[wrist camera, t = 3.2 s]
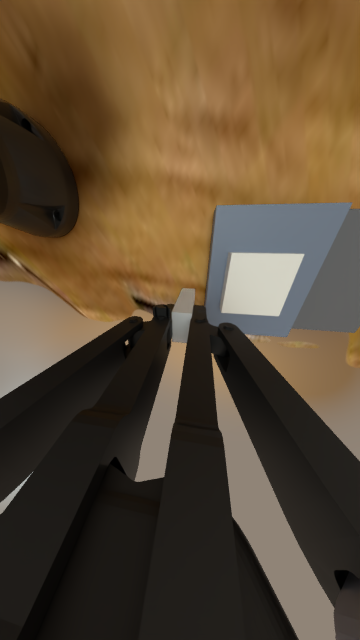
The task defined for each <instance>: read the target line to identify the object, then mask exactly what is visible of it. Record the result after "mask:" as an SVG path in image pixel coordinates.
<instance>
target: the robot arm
mask: <svg viewBox="0 0 360 640" xmlns="http://www.w3.org/2000/svg"><path fill="white" fill-rule="evenodd" d="M78 206H79V203H78V193H77V187H76V183H75V180H74V176H73V174H72V171H71V168H70V166H69V164H68V162H67V160H66V158H65V156H64V154H63V152H62V151H61V149H60V148H59V146H58V145H57V143H56V142H55V141H54V139H53V138H52V137H51V136H50V134H49V133H48V132H47V131H46V130H45V129H44V128H43V127H42V126H41V125H40V124H38V123H37V122H36V121H35V120H33V119H32V118H31V117H29V116H28V115H27V114H25V113H24V112H23V111H21V110H20V109H19V108H17V107H15V106H14V105H12V104H10V103H9V102H7V101H5V100H2V99H0V223H2V224H5V225H8V226H11V227H13V228H16V229H19V230H21V231H24V232H27V233H30V234H33V235H36V236H42V237H61V236H63V235H65V234H67V233H68V232H69V231H70V230H71V229H72V228H73V226H74V225H75V222H76V220H77V216H78ZM194 300H195V289H188V288H182V290H181V292H180V294H179V297H178V299H177V301H176V303H175V304H167V305H164V304H161V305H156V306H154V307H153V316H154V317H153V319H152V320H151V321H147V322H143V319H142V318H141V317H137V316H132V317H129V318H127V319H125V320H124V321H122V322H121V323H119V324H117V325H116V326H114V327H113V328H111V329H110V330H108V331H106V332H105V333H103V334H102V335H100V336H98V337H97V338H96V339H94V340H92V341H91V342H89V343H87V344H86V345H84V346H83V347H81V348H79V349H78V350H76V351H75V352H73V353H71V354H70V355H68V356H67V357H65V358H64V359H62V360H60V361H59V362H57V363H56V364H54V365H52V366H51V367H49V368H48V369H46V370H45V371H43V372H42V373H40V374H38V375H37V376H35V377H33V378H32V379H30V380H29V381H27V382H26V383H24V384H22V385H21V386H19V387H18V388H16V389H15V390H13V391H11V392H10V393H8V394H7V395H5V396H3V397H2V398H0V502H1V501H3V500H4V499H5V498H6V497H7V496H8V495H9V494H10V493H11V492H12V491H14V490H15V489H16V488H17V487H18V486H19V485H20V484H21V483H22V482H23V481H24V480H25V479H26V478H27V477H28V476H29V475H30V474H31V473H32V472H33V473H32V474H31V475H30V477H29V478H28V479H27V481H26V482H25V484H24V485H23V486H22V488H21V489H20V490H19V492H18V493H17V494H16V496H15V497H14V499H13V500H12V501H11V502H10V504H9V505H8V506H7V508H6V509H5V511H4V512H3V513H2V514H0V640H299V639H298V637H297V635H296V633H295V631H294V629H293V627H292V625H291V623H290V622H289V620H288V618H287V616H286V614H285V612H284V610H283V608H282V606H281V604H280V602H279V600H278V598H277V596H276V594H275V592H274V590H273V588H272V586H271V584H270V582H269V580H268V578H267V576H266V574H265V572H264V571H263V568H262V566H261V565H260V563H259V561H258V559H257V557H256V555H255V553H254V551H253V549H252V547H251V545H250V544H249V541H248V540H247V538H246V536H245V535H244V533H243V532H242V530H241V528H240V527H239V525H238V524H237V522H236V521H235V520H234V518H233V517H232V513H231V504H230V495H229V486H228V477H227V469H226V459H225V451H224V444H223V437H222V433H221V432H220V430H219V428H218V421H217V411H216V401H215V389H214V378H213V367H212V356H211V353H213V354H214V358H215V360H216V362H217V365H218V367H219V369H220V371H221V374H222V376H223V378H224V381H225V383H226V385H227V387H228V389H229V392H230V394H231V396H232V398H233V400H234V403H235V405H236V407H237V409H238V412H239V414H240V416H241V419H242V421H243V423H244V425H245V428H246V430H247V432H248V434H249V436H250V439H251V441H252V443H253V445H254V448H255V450H256V452H257V454H258V457H259V458H260V461H261V463H262V466H263V468H264V470H265V472H266V475H267V477H268V479H269V481H270V483H271V486H272V488H273V490H274V492H275V495H276V497H277V499H278V502H279V504H280V506H281V508H282V510H283V513H284V515H285V517H286V519H287V521H288V523H289V525H290V527H291V529H292V531H293V533H294V536H295V538H296V540H297V542H298V544H299V546H300V548H301V550H302V551H303V553H304V555H305V557H306V559H307V561H308V563H309V565H310V566H311V568H312V570H313V572H314V574H315V576H316V577H317V579H318V581H319V583H320V585H321V586H322V588H323V589H324V591H325V593H326V594H327V596H328V598H329V600H330V601H331V603H332V604H333V606H334V608H335V609H334V624H335V632H336V640H360V461H359V460H358V459H357V458H356V457H355V456H354V455H353V454H352V453H351V451H350V450H349V449H348V448H347V447H346V446H345V445H344V444H343V443H342V441H341V440H340V439H339V438H338V437H337V436H336V435H335V434H334V433H333V431H332V430H331V429H330V428H329V427H328V426H327V425H326V424H325V423H324V422H323V420H322V419H321V418H320V417H319V416H318V415H317V414H316V413H315V412H314V411H313V409H312V408H311V407H310V406H309V405H308V404H307V403H306V402H305V401H304V399H303V398H302V397H301V396H300V395H299V394H298V393H297V392H296V391H295V390H294V388H293V387H292V386H291V385H290V384H289V383H288V382H287V381H286V380H285V379H284V377H283V376H282V375H281V374H280V373H279V372H278V371H277V370H276V369H275V367H274V366H273V365H272V364H271V363H270V362H269V361H268V360H267V359H266V358H265V357H264V355H263V354H262V353H261V352H260V351H259V350H258V349H257V348H256V347H255V346H254V344H253V343H252V342H251V341H250V340H249V339H248V338H247V337H246V335H245V334H244V333H243V332H242V331H241V330H240V329H239V328H238V327H237V326H236V325H234V324H232V323H228V322H227V323H225V322H224V323H220V324H219V326H218V327H217V326H213V325H211V324H209V323H208V319H207V314H206V308H205V307H204V306H198V305H194ZM171 339H172V341H173V342H182V343H187V346H186V353H185V360H184V366H183V373H182V379H181V386H180V392H179V399H178V405H177V412H176V418H175V423H174V424H173V428H172V433H171V440H170V445H169V452H168V458H167V464H166V470H165V477H163V478H158V479H152V480H147V481H142V482H135V481H134V480H135V477H136V473H137V469H138V465H139V458H140V450H141V445H142V441H143V438H144V435H145V431H146V428H147V425H148V421H149V418H150V415H151V411H152V408H153V404H154V401H155V397H156V395H157V391H158V388H159V384H160V381H161V378H162V374H163V371H164V368H165V364H166V361H167V358H168V354H169V351H170V347H171ZM127 340H128V343H129V344H128V345H125V341H127Z"/></svg>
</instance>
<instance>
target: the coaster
mask: <svg viewBox="0 0 360 640" xmlns="http://www.w3.org/2000/svg"><path fill="white" fill-rule="evenodd" d="M303 257H304V254H299V253H261V252H228V258H227V264H226V270H225V276H224V283H223V289H222V295H221V301H220V310H221V313H233V314H249V315H265V316H279V315H280V312H281V310H282V308H283V305H284V303H285V300H286V298H287V296H288V293H289V291H290V288H291V286H292V283H293V281H294V279H295V276H296V274H297V271H298V269H299V266H300V264H301V262H302V259H303Z"/></svg>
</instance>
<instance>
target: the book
mask: <svg viewBox="0 0 360 640" xmlns="http://www.w3.org/2000/svg"><path fill="white" fill-rule="evenodd" d="M351 205H352V203H311V204H264V205H218V206H216V208H215V211H214V217H213V227H212V236H211V246H210V256H209V265H208V275H207V285H206V294H205V304H204V307H205V308H206V314H207V319H208V323H209V324H211V325H213V326H217V327H218V326H219V324H220V323H224V322H225V323H227V322H228V323H232V324H234V325H236V326H237V327H238V328H239V329H240V330H241V331H242V332H243V333H244V334H252V335H265V336H277V337H287V336H288V334H289V332H290V330H291V328H292V326H293V324H294V322H295V320H296V317H297V315H298V313H299V311H300V309H301V307H302V305H303V303H304V301H305V299H306V297H307V295H308V293H309V291H310V289H311V287H312V285H313V283H314V281H315V279H316V276H317V274H318V272H319V270H320V268H321V266H322V264H323V262H324V260H325V258H326V256H327V254H328V252H329V250H330V248H331V246H332V244H333V242H334V240H335V238H336V235H337V233H338V231H339V229H340V227H341V225H342V223H343V221H344V219H345V217H346V215H347V213H348V211H349V209H350V207H351ZM228 252H261V253H299V254H304V257H303V259H302V262H301V264H300V266H299V269H298V271H297V274H296V276H295V279H294V281H293V283H292V286H291V288H290V291H289V293H288V296H287V298H286V300H285V303H284V305H283V308H282V310H281V312H280V315H279V316H265V315H249V314H233V313H221V310H220V301H221V295H222V289H223V283H224V276H225V270H226V264H227V258H228Z"/></svg>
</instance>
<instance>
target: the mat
mask: <svg viewBox="0 0 360 640" xmlns="http://www.w3.org/2000/svg"><path fill="white" fill-rule="evenodd" d="M359 327H360V209H349V211H348V213H347V215H346V217H345V219H344V221H343V223H342V225H341V227H340V229H339V231H338V233H337V235H336V238H335V240H334V242H333V244H332V246H331V248H330V250H329V252H328V254H327V256H326V258H325V260H324V262H323V264H322V266H321V268H320V270H319V272H318V274H317V276H316V279H315V281H314V283H313V285H312V287H311V289H310V291H309V293H308V295H307V297H306V299H305V301H304V303H303V305H302V307H301V309H300V311H299V313H298V315H297V317H296V320H295V322H294V324H293V326H292V328H294V329H309V330H323V331H337V332H351V333H355V332H356V330H357V329H358V328H359Z"/></svg>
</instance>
